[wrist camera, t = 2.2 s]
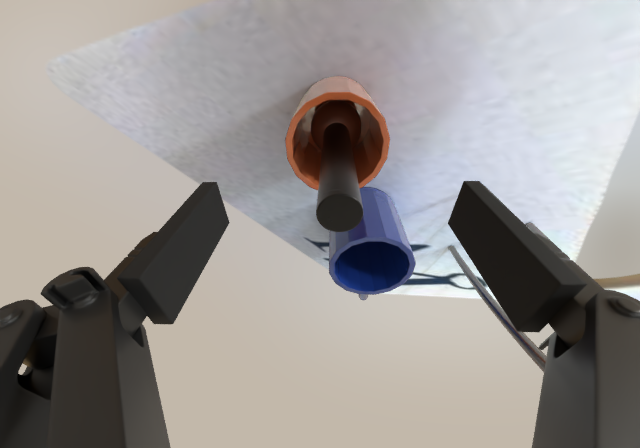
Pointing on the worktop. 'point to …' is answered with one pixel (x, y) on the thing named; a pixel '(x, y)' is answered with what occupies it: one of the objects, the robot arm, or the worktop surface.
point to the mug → (372, 249)
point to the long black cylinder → (337, 165)
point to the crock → (367, 149)
